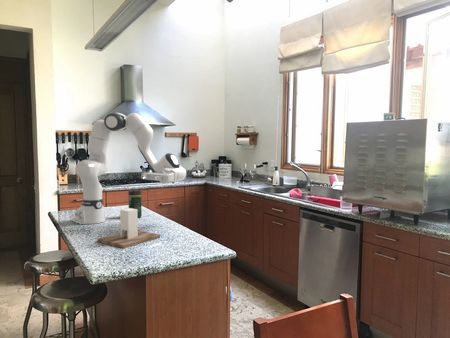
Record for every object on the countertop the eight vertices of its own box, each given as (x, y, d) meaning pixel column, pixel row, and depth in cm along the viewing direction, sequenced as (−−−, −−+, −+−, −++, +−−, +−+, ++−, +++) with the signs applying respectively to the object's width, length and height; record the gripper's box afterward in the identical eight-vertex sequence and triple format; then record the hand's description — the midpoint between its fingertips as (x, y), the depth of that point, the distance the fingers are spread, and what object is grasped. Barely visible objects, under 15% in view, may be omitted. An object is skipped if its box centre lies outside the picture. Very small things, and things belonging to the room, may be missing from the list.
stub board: (97, 241, 184) (97, 232, 184) (133, 231, 204) (133, 223, 204) (124, 248, 173) (123, 239, 173) (160, 237, 193) (160, 229, 193)
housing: (120, 236, 188) (120, 209, 187) (129, 234, 193) (129, 208, 192) (128, 238, 184) (128, 211, 183) (137, 236, 189) (137, 209, 188)
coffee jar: (143, 217, 242) (142, 189, 240) (131, 218, 238) (130, 190, 236) (139, 214, 250) (138, 187, 249) (127, 216, 246) (126, 188, 245)
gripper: (152, 169, 221) (134, 171, 210) (178, 171, 210) (161, 173, 198) (152, 180, 221) (135, 182, 210) (178, 182, 210) (161, 184, 199)
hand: (147, 177), depth 204 cm, fingers open, 8 cm apart
